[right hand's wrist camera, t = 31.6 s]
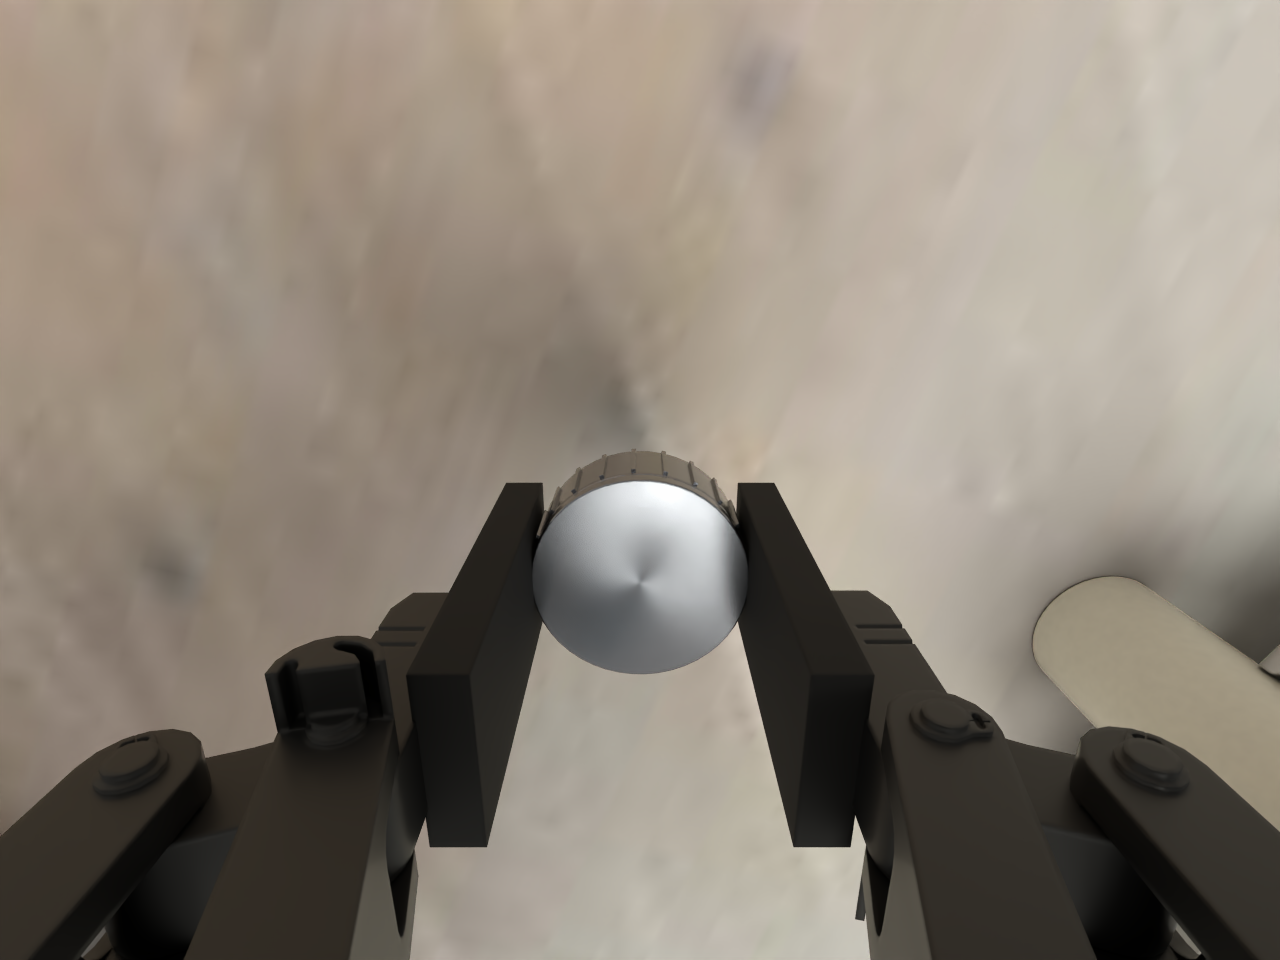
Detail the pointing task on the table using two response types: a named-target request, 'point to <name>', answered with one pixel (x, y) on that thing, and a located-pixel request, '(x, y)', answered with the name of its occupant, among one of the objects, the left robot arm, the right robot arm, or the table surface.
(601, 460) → the cap
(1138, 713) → the bottle
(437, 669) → the right robot arm
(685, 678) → the table surface
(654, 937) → the table surface
